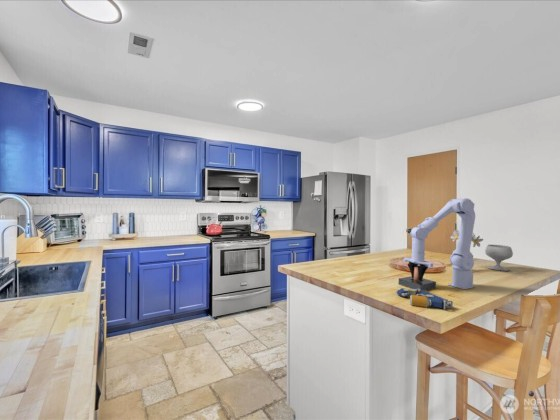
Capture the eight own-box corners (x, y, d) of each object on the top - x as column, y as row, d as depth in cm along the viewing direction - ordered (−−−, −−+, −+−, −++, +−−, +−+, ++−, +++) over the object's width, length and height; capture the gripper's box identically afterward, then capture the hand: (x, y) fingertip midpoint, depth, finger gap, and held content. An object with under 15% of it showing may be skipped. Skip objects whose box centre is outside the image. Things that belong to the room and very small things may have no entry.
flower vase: (473, 275, 161) (475, 232, 161) (443, 268, 178) (444, 229, 177) (486, 273, 167) (488, 232, 166) (456, 266, 184) (457, 229, 183)
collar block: (413, 281, 146) (413, 275, 146) (435, 287, 135) (436, 281, 135) (398, 284, 140) (398, 278, 140) (420, 291, 129) (420, 284, 129)
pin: (416, 282, 140) (416, 266, 139) (421, 284, 137) (422, 268, 137) (412, 283, 138) (412, 267, 138) (417, 284, 136) (418, 268, 135)
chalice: (516, 270, 176) (517, 246, 176) (506, 272, 169) (507, 248, 169) (490, 265, 189) (491, 243, 188) (480, 267, 182) (481, 245, 181)
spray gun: (422, 313, 104) (456, 311, 107) (423, 301, 104) (456, 300, 107) (389, 295, 124) (418, 294, 128) (389, 286, 124) (418, 285, 128)
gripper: (400, 249, 142) (399, 276, 142) (426, 254, 129) (425, 283, 129) (409, 248, 145) (408, 274, 145) (436, 253, 132) (435, 281, 133)
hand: (417, 278), depth 138 cm, fingers closed on pin, 3 cm apart
